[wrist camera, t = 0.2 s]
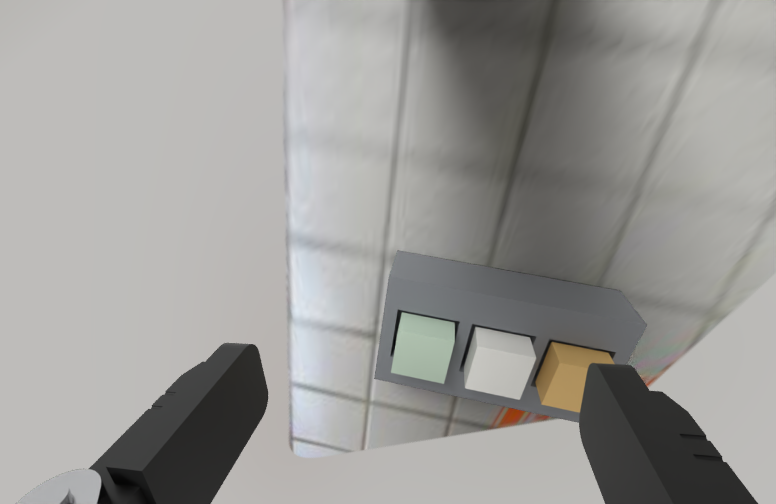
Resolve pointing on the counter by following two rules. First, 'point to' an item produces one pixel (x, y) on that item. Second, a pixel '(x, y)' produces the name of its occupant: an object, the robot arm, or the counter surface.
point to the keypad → (503, 320)
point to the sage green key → (423, 347)
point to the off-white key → (498, 363)
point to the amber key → (566, 375)
